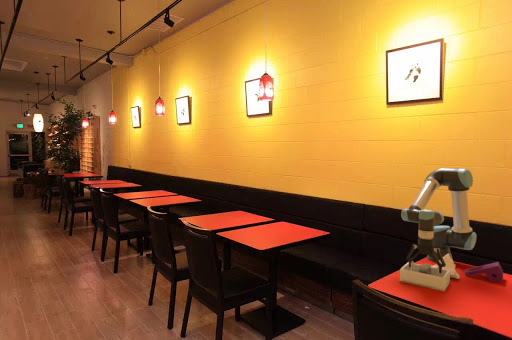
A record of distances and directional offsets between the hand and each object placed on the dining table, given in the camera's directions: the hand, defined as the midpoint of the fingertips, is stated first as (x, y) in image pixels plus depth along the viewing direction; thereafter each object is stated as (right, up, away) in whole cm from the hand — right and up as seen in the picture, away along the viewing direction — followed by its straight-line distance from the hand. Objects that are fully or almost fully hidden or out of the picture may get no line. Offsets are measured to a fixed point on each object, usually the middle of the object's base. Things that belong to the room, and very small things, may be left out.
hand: (424, 275), depth 183 cm
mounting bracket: (+39, -4, +9) cm, 40 cm away
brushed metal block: (0, -3, 0) cm, 3 cm away
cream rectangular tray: (0, -4, 0) cm, 4 cm away
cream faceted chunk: (+17, -4, +10) cm, 21 cm away
